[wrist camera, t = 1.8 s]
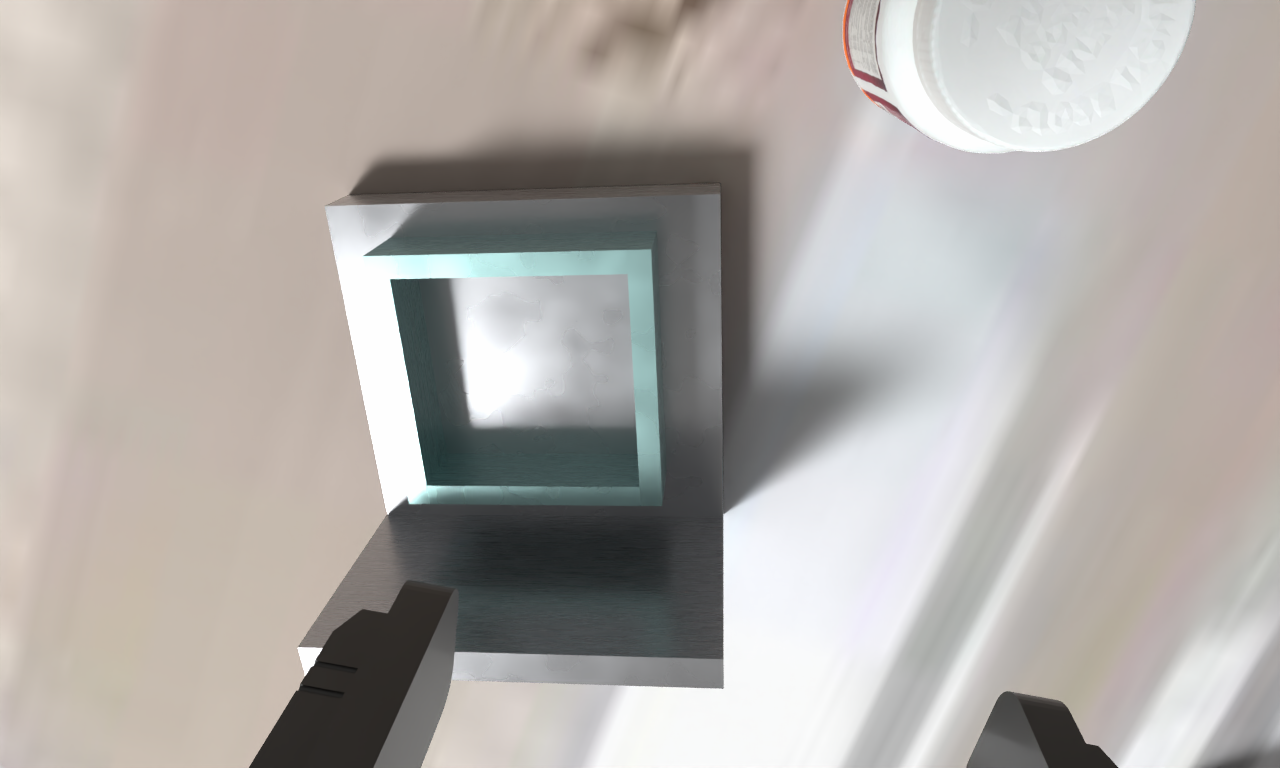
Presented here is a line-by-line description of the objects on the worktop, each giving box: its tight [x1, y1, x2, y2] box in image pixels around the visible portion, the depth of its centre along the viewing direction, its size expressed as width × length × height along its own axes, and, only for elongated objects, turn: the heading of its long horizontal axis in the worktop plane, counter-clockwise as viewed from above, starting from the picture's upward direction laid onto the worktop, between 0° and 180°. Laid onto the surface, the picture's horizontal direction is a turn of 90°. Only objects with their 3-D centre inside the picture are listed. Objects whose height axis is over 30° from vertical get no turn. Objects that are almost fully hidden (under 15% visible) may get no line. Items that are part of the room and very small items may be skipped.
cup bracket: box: [298, 183, 724, 689], centre depth 29 cm, size 14×14×10 cm
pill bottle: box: [842, 0, 1196, 154], centre depth 22 cm, size 6×6×11 cm
